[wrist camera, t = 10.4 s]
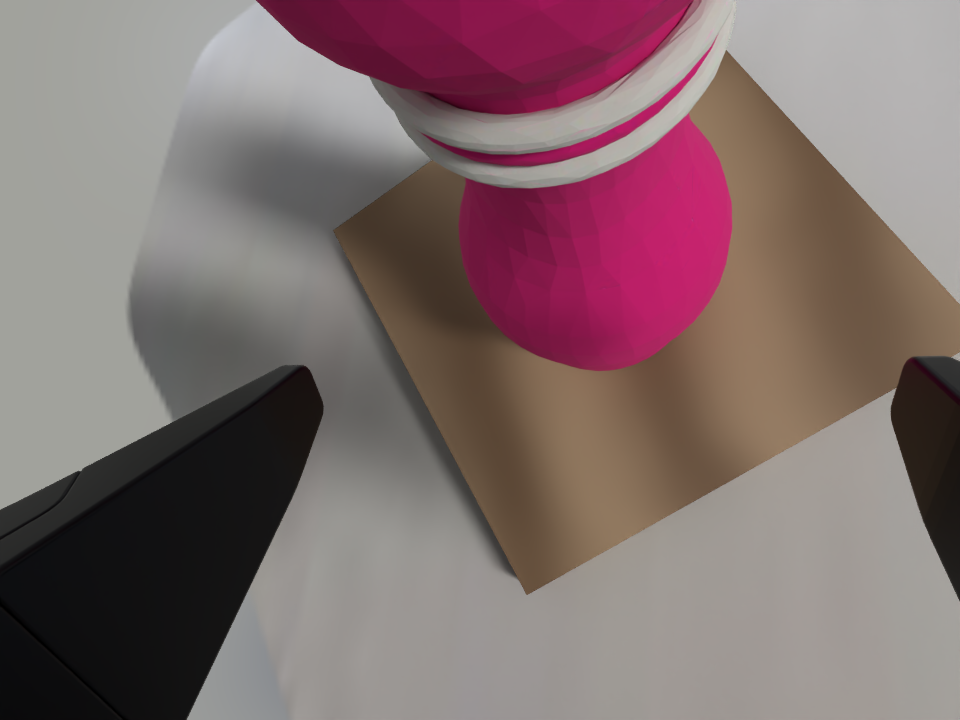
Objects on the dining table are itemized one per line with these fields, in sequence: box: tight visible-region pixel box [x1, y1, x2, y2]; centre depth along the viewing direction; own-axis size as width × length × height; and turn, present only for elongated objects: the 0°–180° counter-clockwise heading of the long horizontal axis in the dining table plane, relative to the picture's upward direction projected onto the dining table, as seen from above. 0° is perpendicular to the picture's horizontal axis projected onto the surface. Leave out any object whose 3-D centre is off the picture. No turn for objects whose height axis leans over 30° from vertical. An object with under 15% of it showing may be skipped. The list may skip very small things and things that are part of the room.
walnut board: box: [333, 50, 960, 595], centre depth 20 cm, size 16×16×1 cm
